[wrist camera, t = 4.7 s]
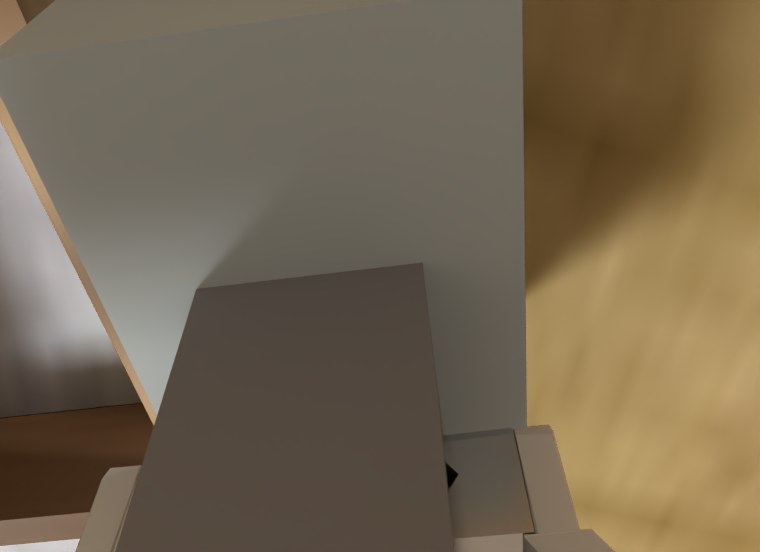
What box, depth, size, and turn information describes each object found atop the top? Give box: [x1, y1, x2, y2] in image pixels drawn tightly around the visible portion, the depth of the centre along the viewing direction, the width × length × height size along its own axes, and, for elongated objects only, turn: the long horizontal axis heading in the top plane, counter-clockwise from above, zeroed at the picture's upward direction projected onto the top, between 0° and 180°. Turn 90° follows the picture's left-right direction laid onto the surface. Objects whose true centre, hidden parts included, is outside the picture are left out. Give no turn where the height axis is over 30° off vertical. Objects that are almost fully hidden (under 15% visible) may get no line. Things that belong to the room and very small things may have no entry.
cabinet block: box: [0, 0, 527, 552], centre depth 13 cm, size 6×12×12 cm, turn 8°
